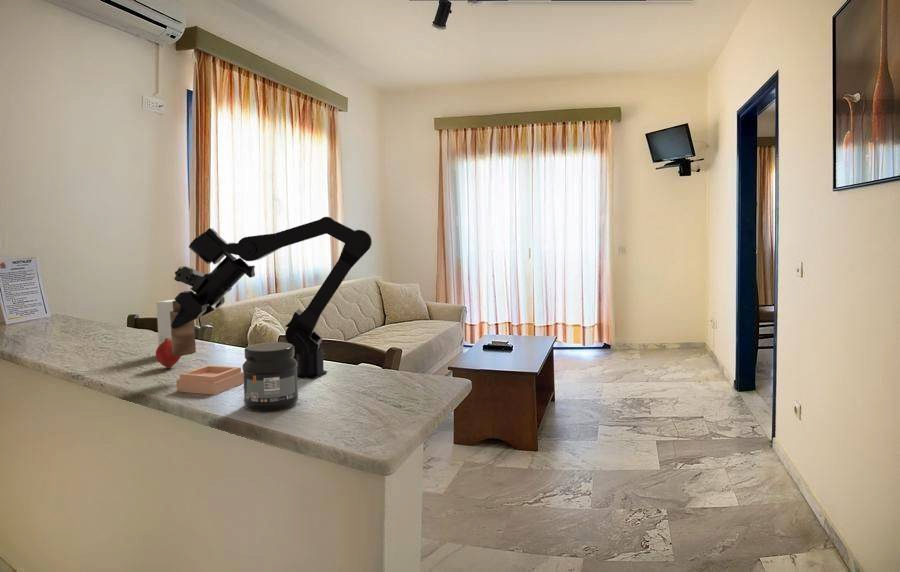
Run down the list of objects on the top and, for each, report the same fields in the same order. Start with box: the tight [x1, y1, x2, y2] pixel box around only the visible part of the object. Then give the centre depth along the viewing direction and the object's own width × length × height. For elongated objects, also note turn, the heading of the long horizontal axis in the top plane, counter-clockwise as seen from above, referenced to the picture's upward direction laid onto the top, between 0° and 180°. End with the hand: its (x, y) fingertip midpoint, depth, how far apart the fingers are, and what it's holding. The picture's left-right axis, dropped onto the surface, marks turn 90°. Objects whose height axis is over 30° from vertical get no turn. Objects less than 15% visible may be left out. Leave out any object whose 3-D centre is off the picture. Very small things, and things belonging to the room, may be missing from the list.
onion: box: [155, 338, 182, 369], centre depth 144 cm, size 6×6×8 cm
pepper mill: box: [170, 301, 197, 356], centre depth 132 cm, size 5×5×12 cm
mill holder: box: [175, 364, 244, 396], centre depth 126 cm, size 10×10×4 cm
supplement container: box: [241, 341, 299, 413], centre depth 112 cm, size 10×10×12 cm
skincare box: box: [156, 299, 175, 346], centre depth 161 cm, size 8×7×16 cm
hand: (176, 325), depth 131 cm, fingers closed on pepper mill, 5 cm apart
